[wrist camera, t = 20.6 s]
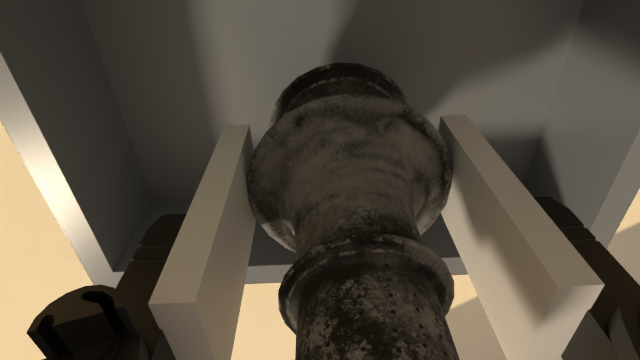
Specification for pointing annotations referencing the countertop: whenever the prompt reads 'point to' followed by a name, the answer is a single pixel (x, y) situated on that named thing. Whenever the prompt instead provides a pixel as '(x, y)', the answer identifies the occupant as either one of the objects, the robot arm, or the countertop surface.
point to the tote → (280, 71)
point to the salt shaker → (356, 217)
